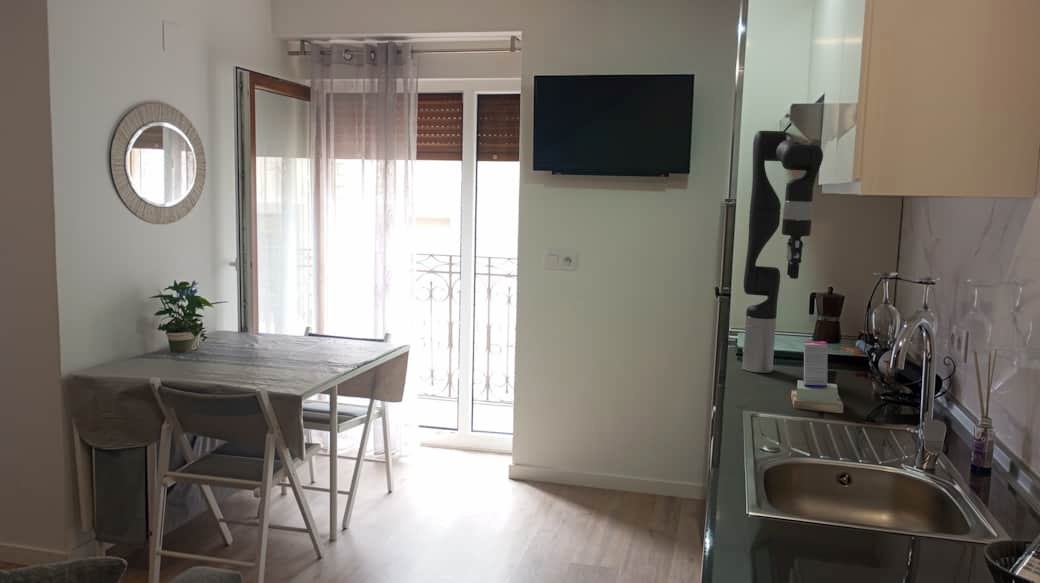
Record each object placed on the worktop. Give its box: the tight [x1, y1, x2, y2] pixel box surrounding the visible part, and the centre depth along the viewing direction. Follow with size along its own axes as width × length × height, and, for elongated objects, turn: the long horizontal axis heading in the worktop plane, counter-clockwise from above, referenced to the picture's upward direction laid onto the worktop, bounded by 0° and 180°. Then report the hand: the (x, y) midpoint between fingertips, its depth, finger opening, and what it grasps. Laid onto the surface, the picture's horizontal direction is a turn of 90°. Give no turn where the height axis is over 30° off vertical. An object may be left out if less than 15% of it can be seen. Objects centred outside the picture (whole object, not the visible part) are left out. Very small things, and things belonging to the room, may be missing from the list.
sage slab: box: [796, 379, 839, 404], centre depth 208 cm, size 10×10×3 cm
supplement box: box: [803, 340, 829, 387], centre depth 208 cm, size 6×6×12 cm
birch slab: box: [790, 389, 844, 414], centre depth 208 cm, size 12×12×3 cm
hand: (792, 277), depth 215 cm, fingers open, 8 cm apart
